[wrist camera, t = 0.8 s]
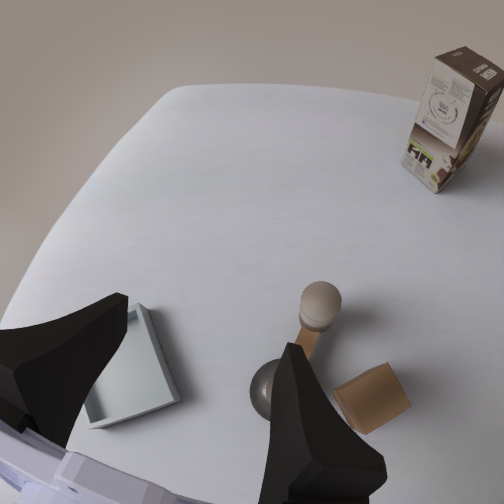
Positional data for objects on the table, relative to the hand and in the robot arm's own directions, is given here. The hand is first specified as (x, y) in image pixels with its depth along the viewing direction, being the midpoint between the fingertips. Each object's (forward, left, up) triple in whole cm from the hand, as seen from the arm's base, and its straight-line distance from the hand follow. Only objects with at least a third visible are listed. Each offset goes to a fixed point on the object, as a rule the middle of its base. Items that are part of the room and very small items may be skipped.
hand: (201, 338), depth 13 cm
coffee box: (+11, -32, -16) cm, 37 cm away
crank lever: (-1, -5, -15) cm, 16 cm away
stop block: (-7, -8, -16) cm, 19 cm away
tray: (+5, +12, -16) cm, 20 cm away
